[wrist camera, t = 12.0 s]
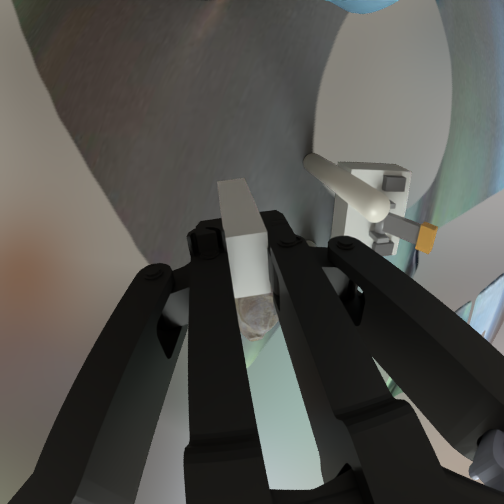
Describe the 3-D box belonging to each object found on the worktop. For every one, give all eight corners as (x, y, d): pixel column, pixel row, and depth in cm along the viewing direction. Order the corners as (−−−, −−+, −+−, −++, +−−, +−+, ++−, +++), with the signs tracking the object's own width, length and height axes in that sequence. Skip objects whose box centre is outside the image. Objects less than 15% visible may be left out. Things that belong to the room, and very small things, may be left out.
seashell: (262, 250, 46) (234, 343, 43) (308, 273, 53) (285, 352, 50) (230, 249, 54) (204, 328, 51) (274, 269, 60) (253, 339, 58)
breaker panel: (337, 161, 45) (360, 174, 38) (395, 164, 47) (422, 177, 40) (329, 247, 53) (347, 270, 46) (383, 242, 55) (404, 262, 48)
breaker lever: (375, 208, 44) (434, 230, 37) (381, 205, 45) (437, 226, 38) (372, 230, 46) (428, 254, 39) (377, 227, 47) (431, 249, 40)
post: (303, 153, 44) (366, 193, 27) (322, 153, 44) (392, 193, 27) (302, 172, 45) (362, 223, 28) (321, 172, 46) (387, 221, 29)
